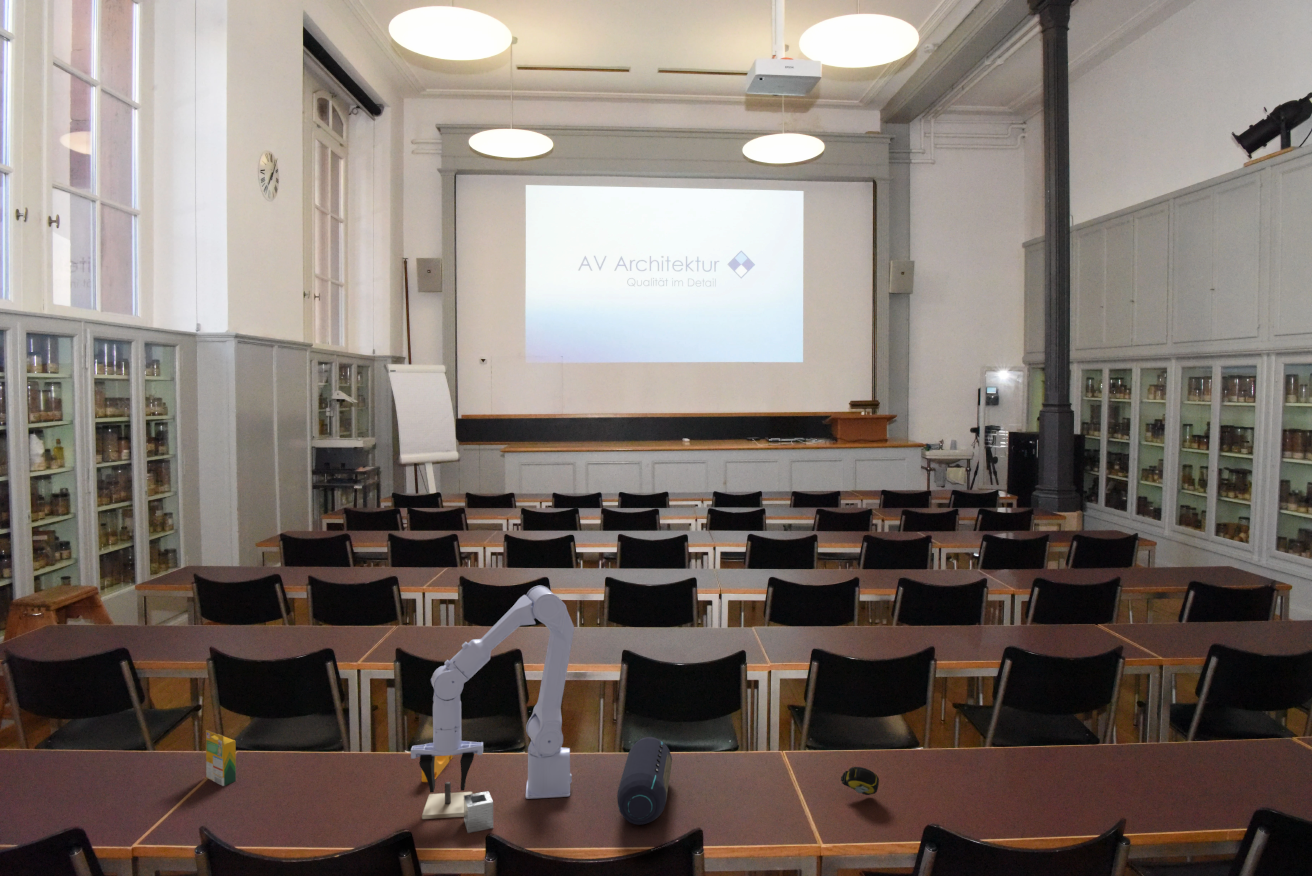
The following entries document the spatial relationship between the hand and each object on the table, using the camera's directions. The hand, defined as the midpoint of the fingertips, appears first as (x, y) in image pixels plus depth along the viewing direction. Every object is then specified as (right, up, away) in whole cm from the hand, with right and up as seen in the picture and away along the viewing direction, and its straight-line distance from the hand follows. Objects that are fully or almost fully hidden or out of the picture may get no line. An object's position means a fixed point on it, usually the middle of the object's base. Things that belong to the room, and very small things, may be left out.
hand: (447, 789), depth 163 cm
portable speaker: (+41, -4, +3) cm, 42 cm away
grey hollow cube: (+8, -4, -7) cm, 11 cm away
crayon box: (-54, -4, +11) cm, 55 cm away
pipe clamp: (-8, -4, +17) cm, 19 cm away
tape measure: (+87, -4, +4) cm, 87 cm away
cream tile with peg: (0, -4, 0) cm, 4 cm away
